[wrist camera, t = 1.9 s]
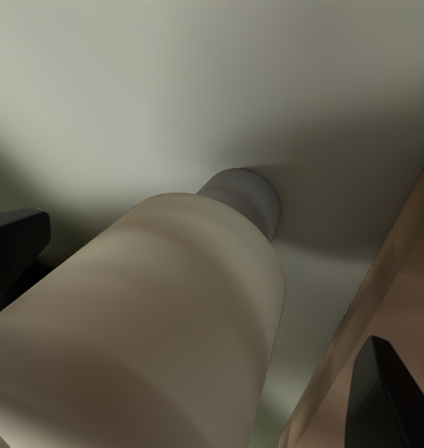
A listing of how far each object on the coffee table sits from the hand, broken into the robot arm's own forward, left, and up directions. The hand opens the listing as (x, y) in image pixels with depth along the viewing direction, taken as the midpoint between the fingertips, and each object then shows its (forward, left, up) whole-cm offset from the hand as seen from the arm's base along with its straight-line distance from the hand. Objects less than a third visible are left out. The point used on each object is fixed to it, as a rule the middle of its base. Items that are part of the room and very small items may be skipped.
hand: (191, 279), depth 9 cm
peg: (0, 0, -5) cm, 5 cm away
